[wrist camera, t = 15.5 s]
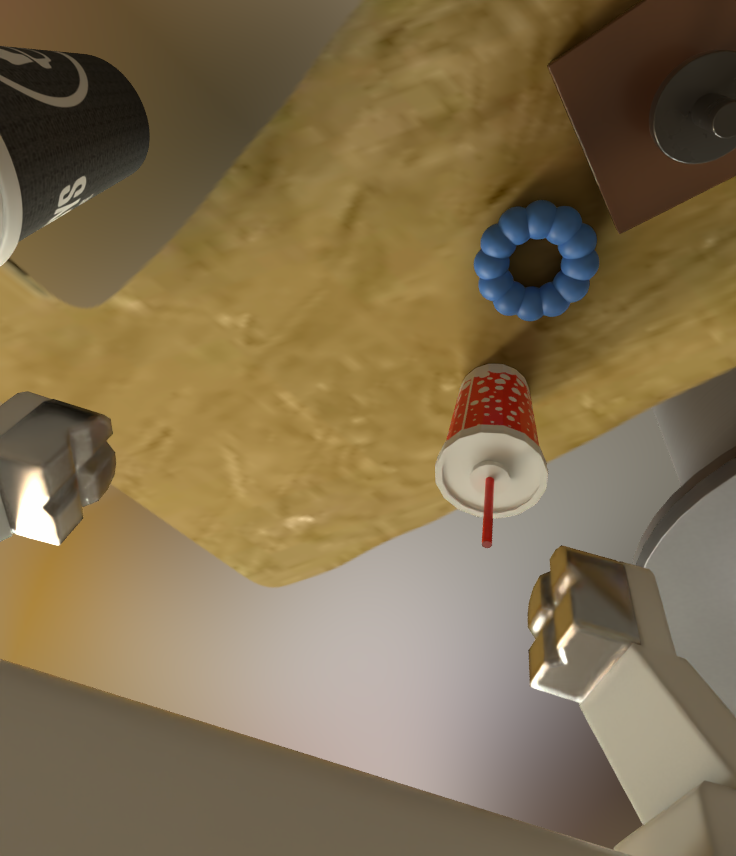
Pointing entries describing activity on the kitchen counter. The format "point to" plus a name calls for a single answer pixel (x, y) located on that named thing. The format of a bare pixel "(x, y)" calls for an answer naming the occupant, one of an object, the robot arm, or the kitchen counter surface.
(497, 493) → the beverage cup
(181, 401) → the kitchen counter surface
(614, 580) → the robot arm
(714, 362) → the kitchen counter surface
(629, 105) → the peg stand
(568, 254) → the blue bumpy ring
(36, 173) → the coffee cup
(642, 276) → the kitchen counter surface
